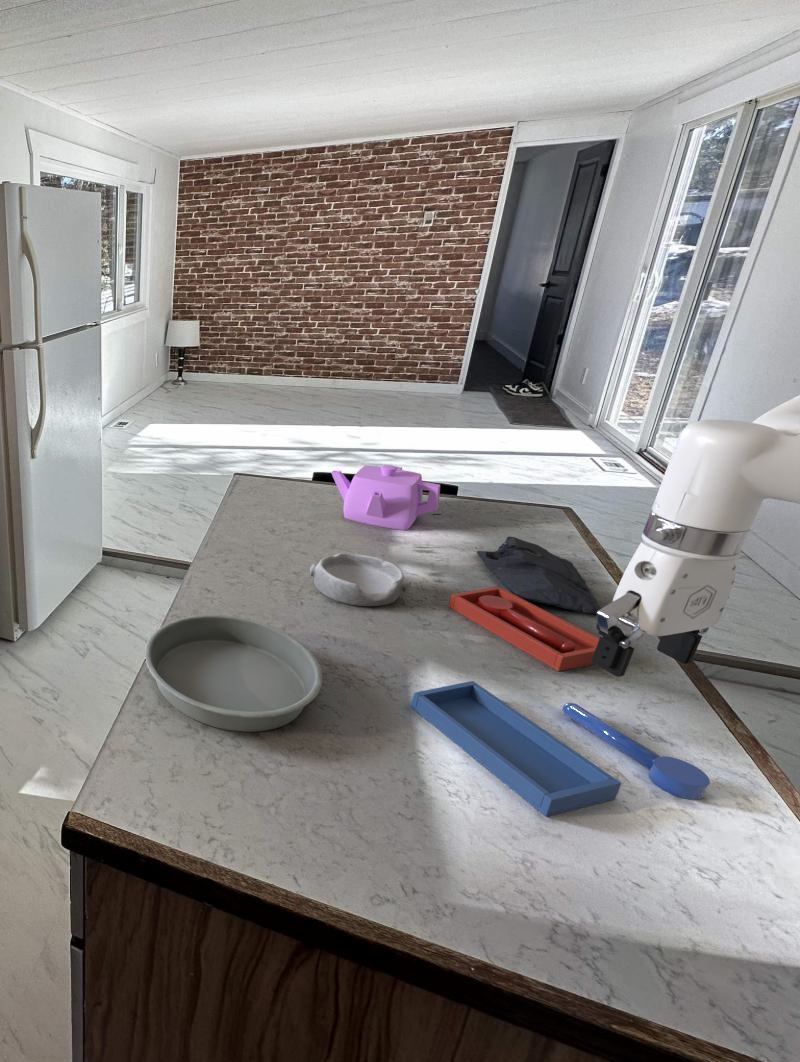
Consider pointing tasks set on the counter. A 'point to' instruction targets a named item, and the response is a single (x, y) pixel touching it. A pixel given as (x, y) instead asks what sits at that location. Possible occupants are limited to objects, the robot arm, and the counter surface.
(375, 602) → the dish
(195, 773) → the counter surface
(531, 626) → the red spoon
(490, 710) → the blue tray
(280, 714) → the cake pan
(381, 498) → the teakettle
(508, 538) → the dark slate chunk
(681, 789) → the blue spoon
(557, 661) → the red tray
